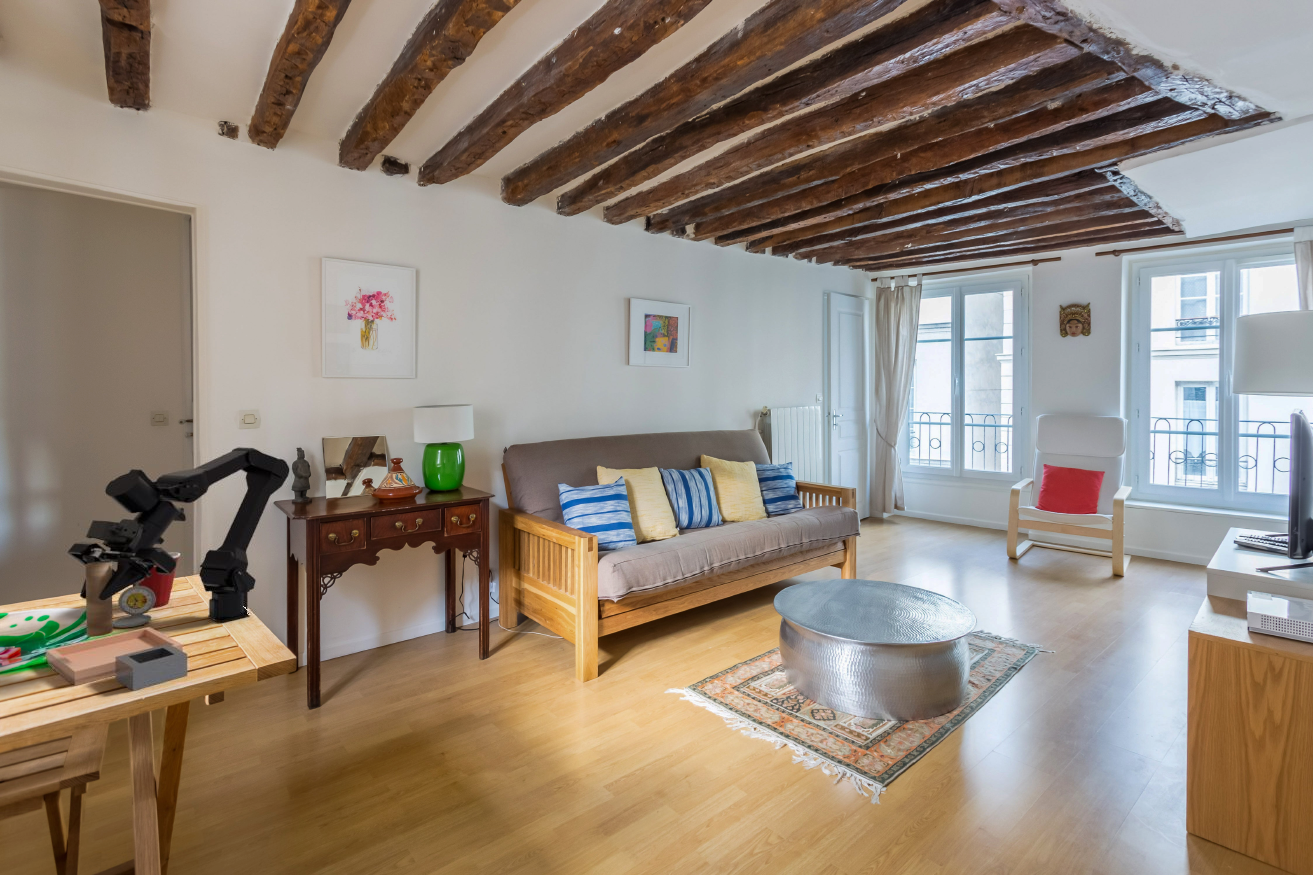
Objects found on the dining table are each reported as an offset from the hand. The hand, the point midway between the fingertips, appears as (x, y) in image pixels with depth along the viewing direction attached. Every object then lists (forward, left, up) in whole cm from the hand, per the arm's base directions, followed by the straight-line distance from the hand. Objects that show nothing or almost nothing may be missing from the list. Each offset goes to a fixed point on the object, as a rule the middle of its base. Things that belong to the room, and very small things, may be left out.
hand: (91, 598), depth 116 cm
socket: (-5, +11, -13) cm, 18 cm away
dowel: (-1, -1, -7) cm, 7 cm away
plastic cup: (-21, -36, -14) cm, 44 cm away
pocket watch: (-14, -25, -14) cm, 32 cm away
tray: (-4, -3, -13) cm, 14 cm away
